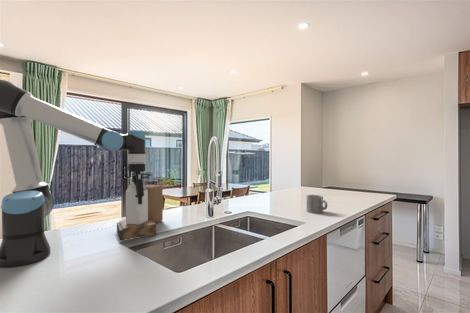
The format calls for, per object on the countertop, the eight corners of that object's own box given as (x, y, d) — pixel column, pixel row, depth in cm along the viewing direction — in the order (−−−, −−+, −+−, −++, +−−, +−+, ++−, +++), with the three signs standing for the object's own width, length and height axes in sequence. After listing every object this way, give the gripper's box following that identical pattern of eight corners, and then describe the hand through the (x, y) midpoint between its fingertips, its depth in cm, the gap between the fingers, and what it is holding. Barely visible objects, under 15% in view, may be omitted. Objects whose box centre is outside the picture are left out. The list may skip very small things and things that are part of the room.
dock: (119, 240, 111) (119, 229, 111) (116, 231, 123) (116, 221, 123) (155, 234, 118) (155, 224, 118) (149, 227, 130) (149, 217, 130)
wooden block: (136, 223, 136) (135, 186, 136) (148, 219, 146) (148, 184, 145) (151, 225, 133) (150, 187, 132) (163, 221, 142) (163, 185, 142)
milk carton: (139, 225, 117) (139, 183, 116) (125, 224, 118) (125, 183, 118) (148, 221, 124) (147, 181, 123) (134, 220, 125) (134, 181, 125)
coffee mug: (303, 211, 166) (303, 195, 166) (314, 209, 171) (314, 194, 171) (319, 215, 155) (319, 198, 155) (330, 213, 160) (330, 197, 160)
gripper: (150, 164, 111) (151, 212, 112) (140, 162, 133) (140, 202, 133) (132, 164, 108) (132, 214, 108) (124, 162, 129) (125, 204, 130)
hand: (137, 208), depth 121 cm, fingers open, 13 cm apart
